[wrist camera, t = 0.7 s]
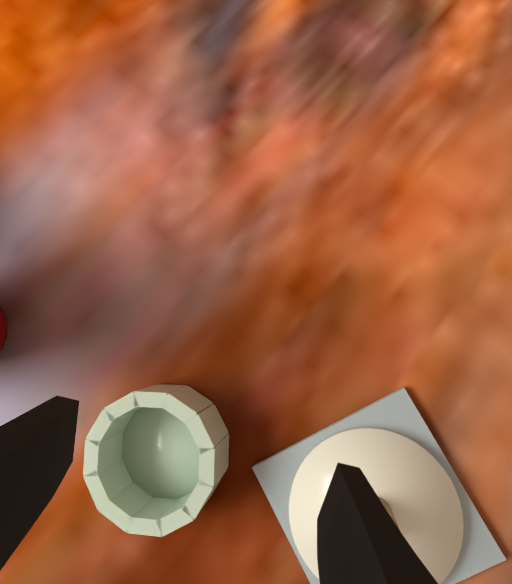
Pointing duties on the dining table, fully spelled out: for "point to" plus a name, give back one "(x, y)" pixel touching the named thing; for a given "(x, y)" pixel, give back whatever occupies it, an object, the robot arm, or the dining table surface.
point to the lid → (383, 494)
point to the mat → (407, 421)
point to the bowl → (155, 458)
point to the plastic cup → (2, 328)
